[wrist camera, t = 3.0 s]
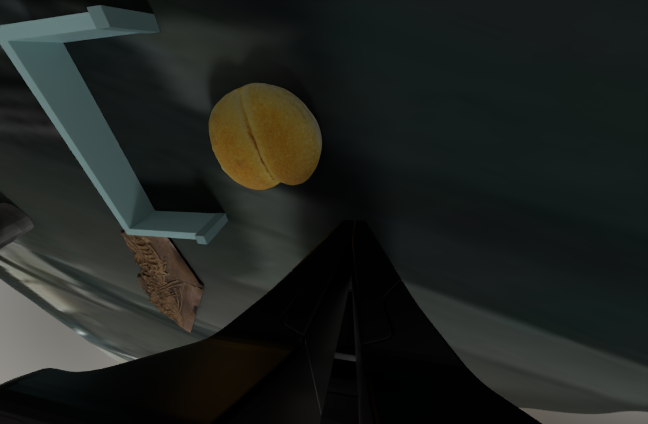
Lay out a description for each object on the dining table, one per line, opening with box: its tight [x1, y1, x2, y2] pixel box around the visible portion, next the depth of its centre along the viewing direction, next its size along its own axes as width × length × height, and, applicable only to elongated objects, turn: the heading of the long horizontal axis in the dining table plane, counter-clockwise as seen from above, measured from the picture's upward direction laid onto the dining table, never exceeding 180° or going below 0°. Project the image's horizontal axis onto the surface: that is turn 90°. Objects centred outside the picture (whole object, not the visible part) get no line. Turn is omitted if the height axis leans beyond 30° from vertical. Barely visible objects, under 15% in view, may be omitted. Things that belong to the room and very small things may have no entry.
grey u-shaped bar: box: [0, 5, 228, 244], centre depth 21 cm, size 10×18×4 cm, turn 5°
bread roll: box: [209, 83, 322, 190], centre depth 19 cm, size 8×9×4 cm
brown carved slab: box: [121, 232, 204, 332], centre depth 36 cm, size 26×11×1 cm, turn 168°
